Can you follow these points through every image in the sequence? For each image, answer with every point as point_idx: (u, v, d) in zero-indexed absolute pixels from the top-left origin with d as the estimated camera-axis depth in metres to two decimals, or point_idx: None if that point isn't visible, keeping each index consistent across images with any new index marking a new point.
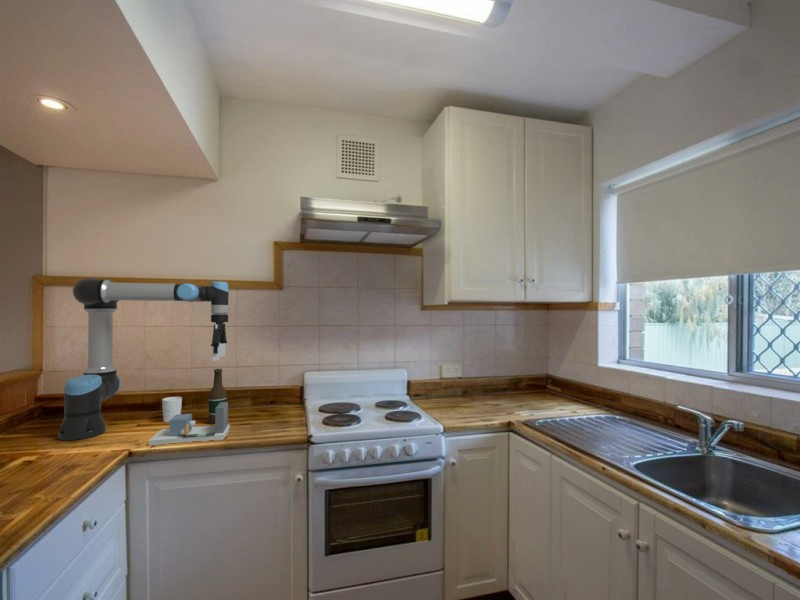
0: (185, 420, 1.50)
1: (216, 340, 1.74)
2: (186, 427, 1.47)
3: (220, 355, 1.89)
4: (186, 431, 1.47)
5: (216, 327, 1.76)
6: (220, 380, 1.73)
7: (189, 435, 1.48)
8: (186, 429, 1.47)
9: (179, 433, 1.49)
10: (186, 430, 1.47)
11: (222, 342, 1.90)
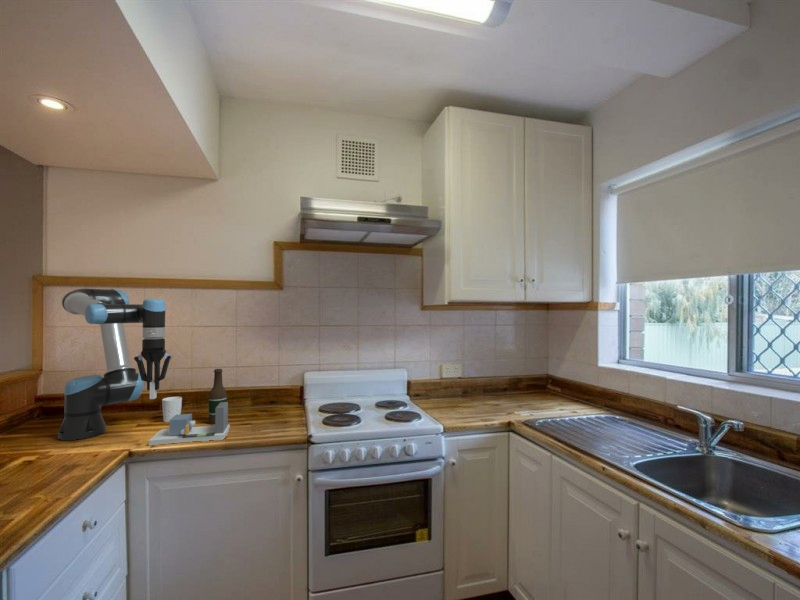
0: (185, 420, 1.50)
1: None
2: (186, 427, 1.47)
3: None
4: (186, 431, 1.47)
5: None
6: (220, 380, 1.73)
7: (189, 435, 1.48)
8: (186, 429, 1.47)
9: (179, 433, 1.49)
10: (186, 430, 1.47)
11: None
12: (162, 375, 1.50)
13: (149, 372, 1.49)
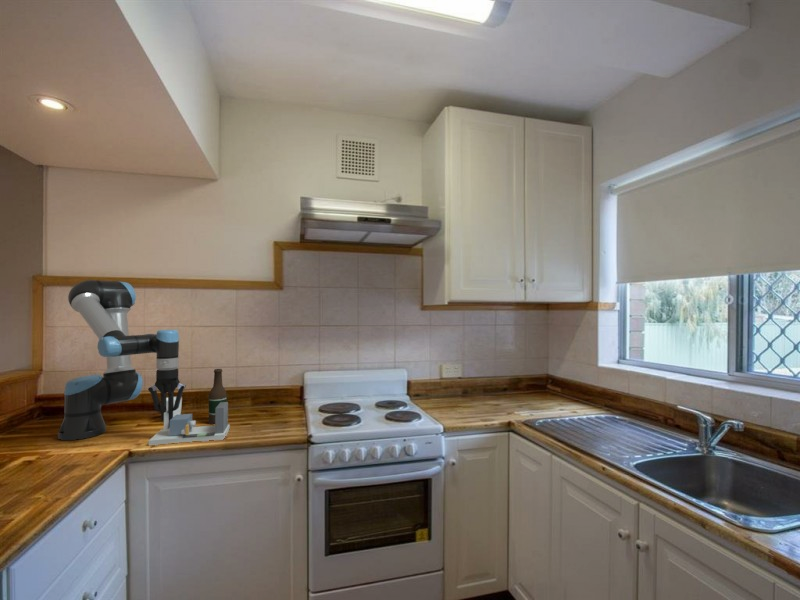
0: (185, 420, 1.50)
1: None
2: (186, 427, 1.47)
3: None
4: (186, 431, 1.47)
5: None
6: (220, 380, 1.73)
7: (189, 435, 1.48)
8: (186, 429, 1.47)
9: (179, 433, 1.49)
10: (186, 430, 1.47)
11: None
12: (176, 405, 1.51)
13: (163, 403, 1.50)
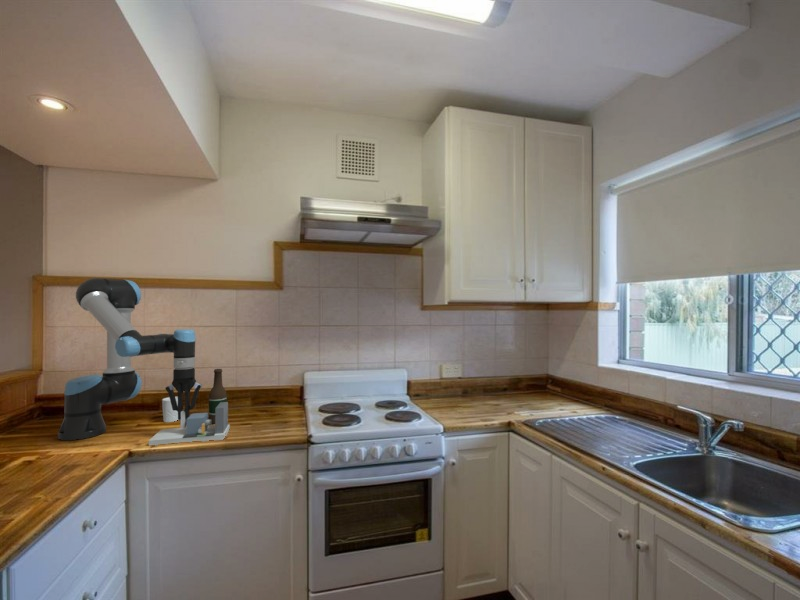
0: (202, 419, 1.51)
1: None
2: (202, 426, 1.49)
3: None
4: (202, 430, 1.49)
5: None
6: (220, 380, 1.73)
7: (189, 435, 1.48)
8: (202, 428, 1.49)
9: (196, 432, 1.50)
10: (202, 429, 1.49)
11: None
12: (192, 404, 1.53)
13: (180, 402, 1.52)
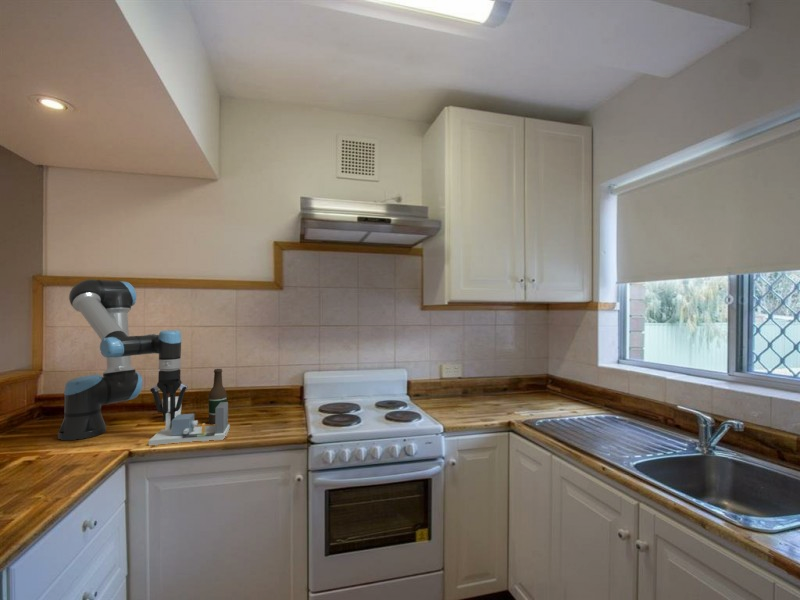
0: (188, 420, 1.50)
1: None
2: (202, 426, 1.49)
3: None
4: (202, 430, 1.49)
5: None
6: (220, 380, 1.73)
7: (189, 435, 1.48)
8: (202, 428, 1.49)
9: (182, 433, 1.49)
10: (202, 429, 1.49)
11: None
12: (178, 406, 1.52)
13: (165, 403, 1.50)
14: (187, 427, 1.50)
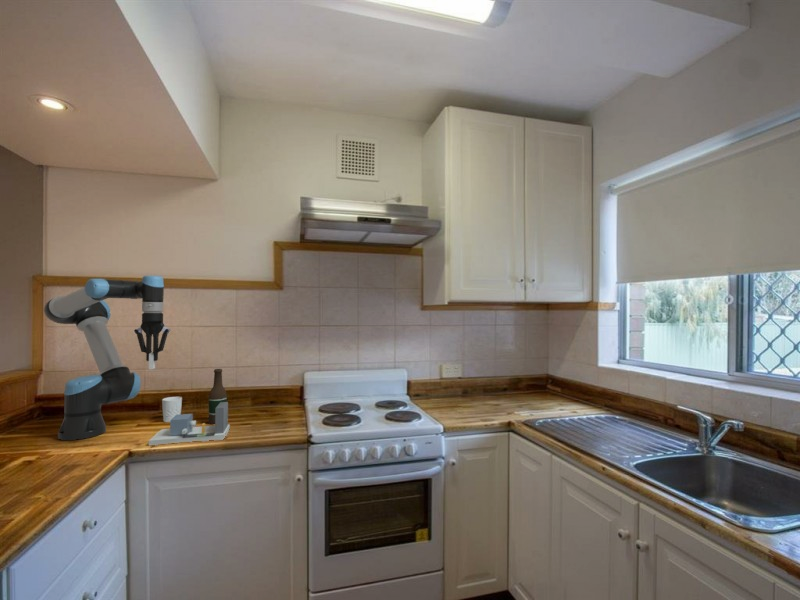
0: (186, 420, 1.50)
1: None
2: (202, 426, 1.49)
3: None
4: (202, 430, 1.49)
5: None
6: (220, 380, 1.73)
7: (189, 435, 1.48)
8: (202, 428, 1.49)
9: (180, 433, 1.49)
10: (202, 429, 1.49)
11: None
12: (160, 347, 1.60)
13: (148, 344, 1.59)
14: (185, 427, 1.50)
